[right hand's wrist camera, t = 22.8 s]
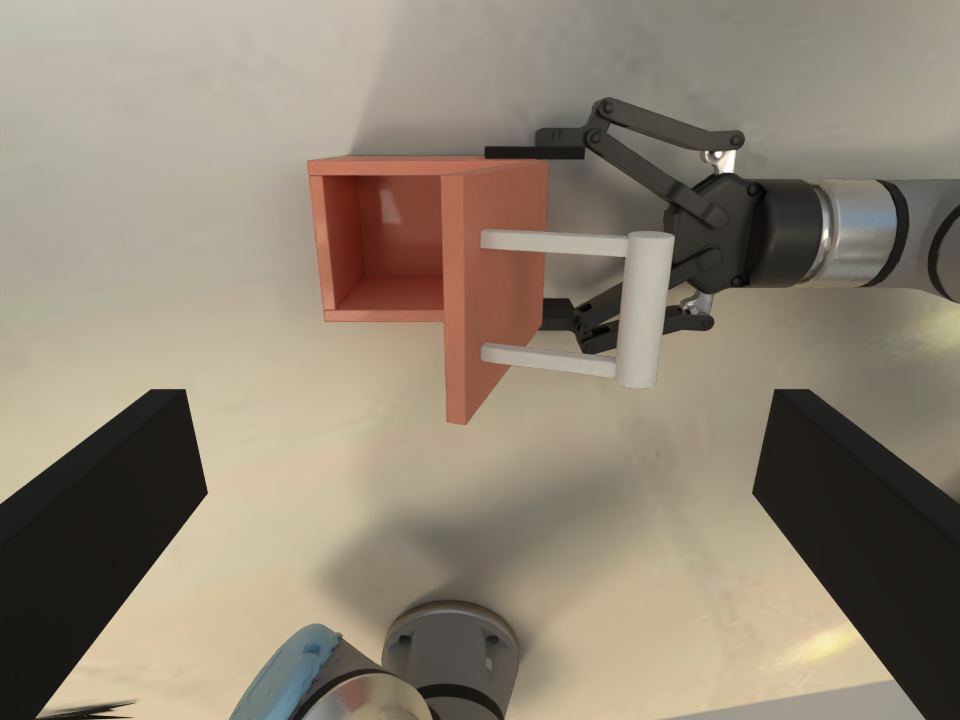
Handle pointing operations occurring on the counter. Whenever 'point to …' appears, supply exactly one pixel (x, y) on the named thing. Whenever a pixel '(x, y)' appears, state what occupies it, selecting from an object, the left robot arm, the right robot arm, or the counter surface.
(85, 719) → the feather
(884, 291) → the counter surface
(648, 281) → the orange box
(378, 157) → the chest
